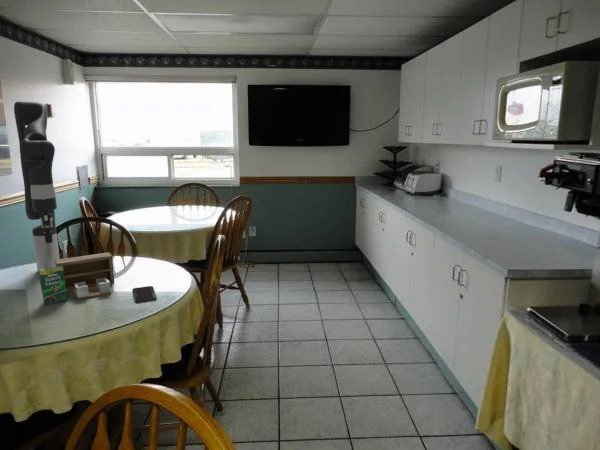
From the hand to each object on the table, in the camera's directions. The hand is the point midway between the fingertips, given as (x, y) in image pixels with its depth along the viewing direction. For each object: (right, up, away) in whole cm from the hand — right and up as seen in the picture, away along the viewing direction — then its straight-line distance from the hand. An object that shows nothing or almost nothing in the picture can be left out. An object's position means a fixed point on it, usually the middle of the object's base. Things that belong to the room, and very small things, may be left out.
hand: (49, 240), depth 159 cm
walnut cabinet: (+8, -20, +14) cm, 26 cm away
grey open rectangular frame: (+12, -21, +10) cm, 26 cm away
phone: (+32, -22, +9) cm, 40 cm away
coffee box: (+1, -23, +2) cm, 23 cm away
